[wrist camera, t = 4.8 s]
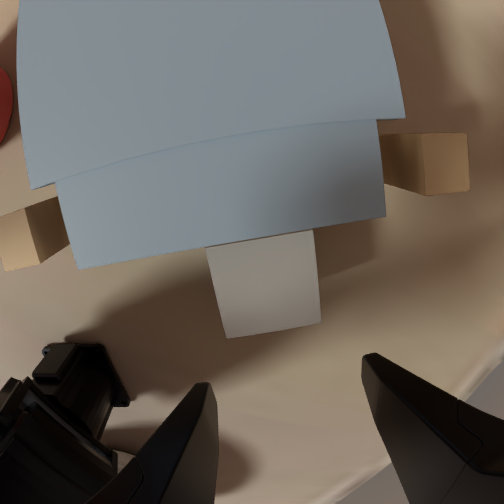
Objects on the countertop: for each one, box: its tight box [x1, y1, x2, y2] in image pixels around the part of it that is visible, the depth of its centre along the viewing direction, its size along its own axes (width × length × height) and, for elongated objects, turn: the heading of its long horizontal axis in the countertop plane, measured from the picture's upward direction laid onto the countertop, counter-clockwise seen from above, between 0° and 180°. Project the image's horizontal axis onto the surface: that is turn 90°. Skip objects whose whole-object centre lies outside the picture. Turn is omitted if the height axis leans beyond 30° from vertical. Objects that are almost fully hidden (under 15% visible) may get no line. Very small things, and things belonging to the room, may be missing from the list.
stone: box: [205, 229, 321, 339], centre depth 18 cm, size 5×5×5 cm
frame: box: [0, 133, 470, 272], centre depth 13 cm, size 2×17×10 cm, turn 100°
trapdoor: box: [17, 0, 406, 270], centre depth 9 cm, size 13×12×3 cm
